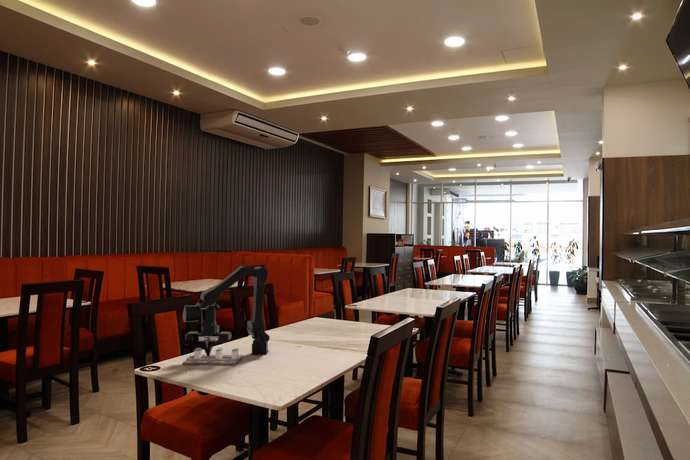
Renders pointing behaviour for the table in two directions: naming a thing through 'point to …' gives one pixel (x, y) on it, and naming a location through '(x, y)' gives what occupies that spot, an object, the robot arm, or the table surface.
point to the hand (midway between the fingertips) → (208, 355)
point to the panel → (212, 360)
